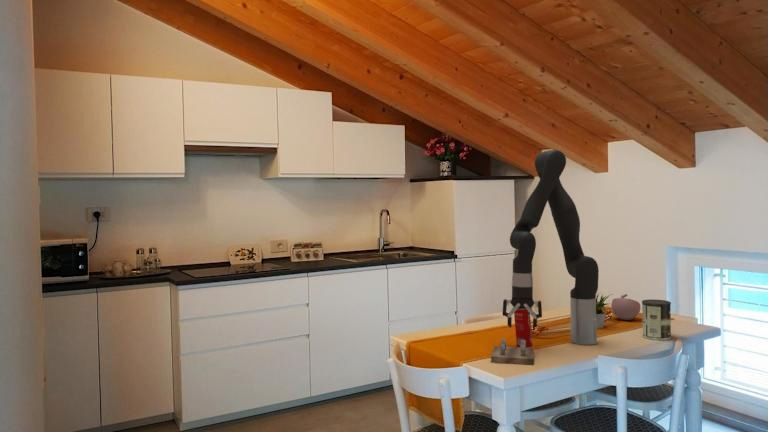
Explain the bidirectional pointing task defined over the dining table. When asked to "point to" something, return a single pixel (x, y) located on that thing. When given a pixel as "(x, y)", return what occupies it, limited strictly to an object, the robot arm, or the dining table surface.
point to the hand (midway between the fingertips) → (522, 327)
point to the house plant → (600, 311)
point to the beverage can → (523, 327)
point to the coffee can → (656, 319)
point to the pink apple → (625, 308)
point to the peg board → (513, 354)
